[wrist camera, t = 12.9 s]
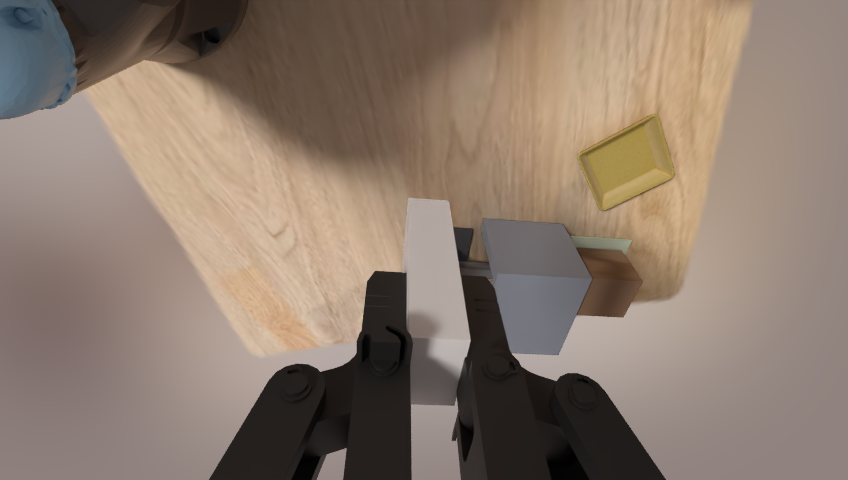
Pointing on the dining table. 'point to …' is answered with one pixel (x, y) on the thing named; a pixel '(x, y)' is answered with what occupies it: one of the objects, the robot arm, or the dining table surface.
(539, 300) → the tunnel
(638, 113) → the dining table surface
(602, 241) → the pad
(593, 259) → the push rod
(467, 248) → the mat
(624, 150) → the yellow tray
